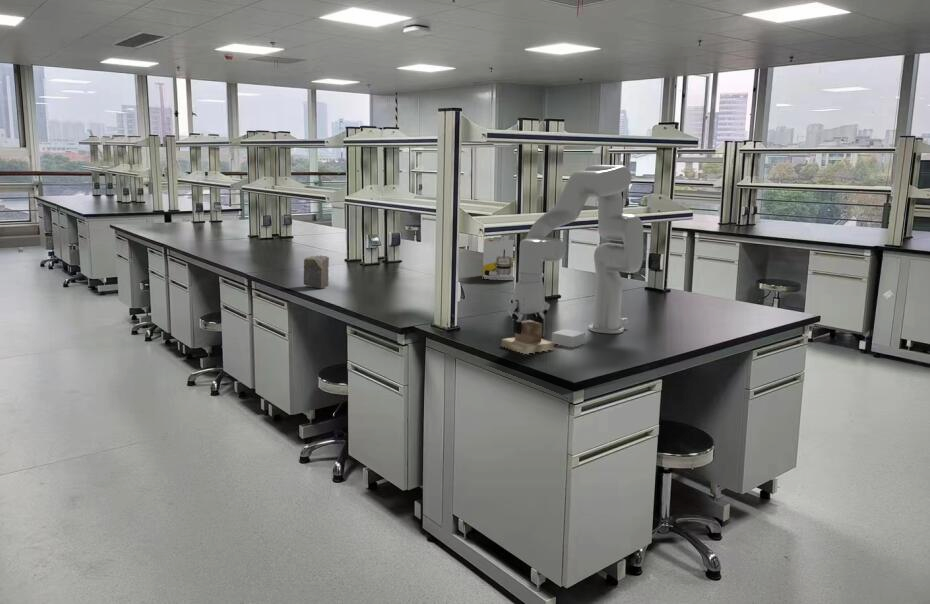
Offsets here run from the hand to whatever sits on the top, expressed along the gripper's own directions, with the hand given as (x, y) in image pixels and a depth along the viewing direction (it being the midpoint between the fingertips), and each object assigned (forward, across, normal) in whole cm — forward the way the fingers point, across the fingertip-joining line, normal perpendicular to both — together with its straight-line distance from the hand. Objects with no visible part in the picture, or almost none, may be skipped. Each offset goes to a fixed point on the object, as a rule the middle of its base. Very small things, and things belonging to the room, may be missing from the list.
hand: (528, 331), depth 227 cm
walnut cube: (+3, 0, 0) cm, 3 cm away
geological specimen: (+6, +14, -138) cm, 139 cm away
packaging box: (+6, -82, -123) cm, 148 cm away
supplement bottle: (+6, -13, -12) cm, 19 cm away
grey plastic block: (+6, -16, +2) cm, 17 cm away
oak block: (+6, 0, 0) cm, 6 cm away
